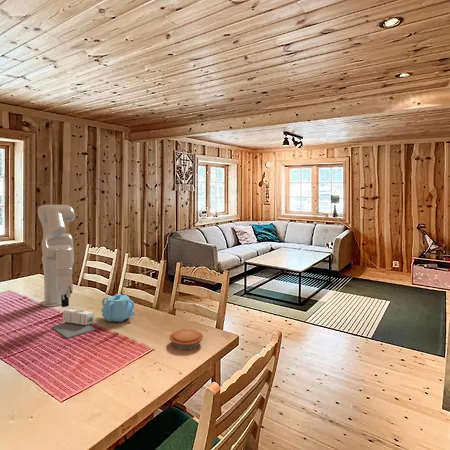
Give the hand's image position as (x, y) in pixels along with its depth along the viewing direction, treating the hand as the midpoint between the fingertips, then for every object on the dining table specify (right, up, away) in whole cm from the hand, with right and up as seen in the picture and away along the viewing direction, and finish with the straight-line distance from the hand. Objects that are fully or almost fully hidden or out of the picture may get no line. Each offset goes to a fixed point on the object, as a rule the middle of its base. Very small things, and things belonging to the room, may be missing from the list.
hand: (65, 306), depth 173 cm
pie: (+65, -13, -18) cm, 69 cm away
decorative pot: (+24, -9, +10) cm, 28 cm away
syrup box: (-1, -5, +3) cm, 6 cm away
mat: (+7, -10, -5) cm, 13 cm away
